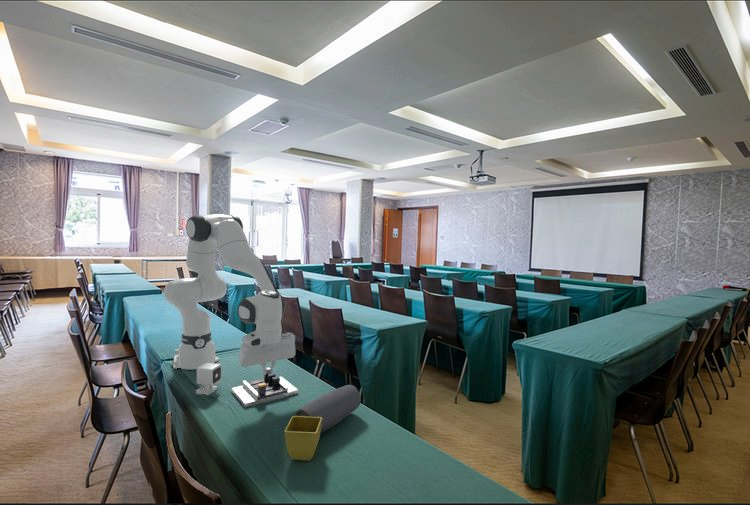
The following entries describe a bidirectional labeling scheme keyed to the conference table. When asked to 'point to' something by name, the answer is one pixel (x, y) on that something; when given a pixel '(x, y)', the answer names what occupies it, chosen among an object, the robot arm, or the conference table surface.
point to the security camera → (208, 377)
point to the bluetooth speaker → (332, 406)
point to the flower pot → (302, 436)
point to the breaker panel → (274, 390)
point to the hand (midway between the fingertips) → (267, 373)
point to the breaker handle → (261, 388)
